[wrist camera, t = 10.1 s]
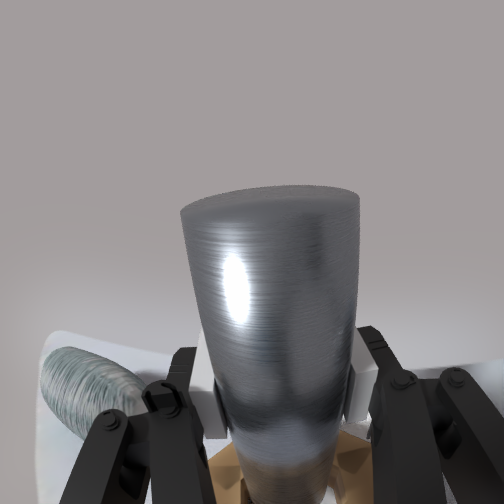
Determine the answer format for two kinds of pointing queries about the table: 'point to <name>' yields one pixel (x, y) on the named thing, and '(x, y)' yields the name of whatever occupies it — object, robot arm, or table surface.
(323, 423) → the rod
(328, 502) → the table surface
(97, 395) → the grey yarn skein
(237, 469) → the brown thick faceted ring
